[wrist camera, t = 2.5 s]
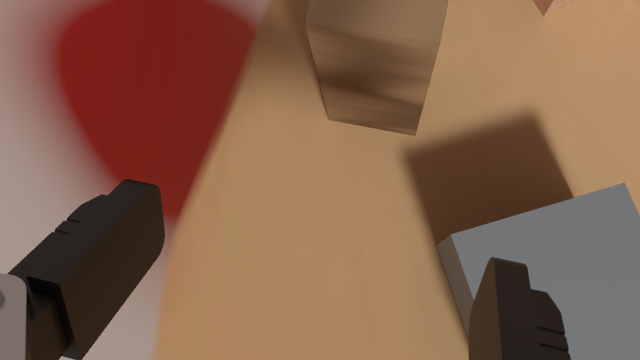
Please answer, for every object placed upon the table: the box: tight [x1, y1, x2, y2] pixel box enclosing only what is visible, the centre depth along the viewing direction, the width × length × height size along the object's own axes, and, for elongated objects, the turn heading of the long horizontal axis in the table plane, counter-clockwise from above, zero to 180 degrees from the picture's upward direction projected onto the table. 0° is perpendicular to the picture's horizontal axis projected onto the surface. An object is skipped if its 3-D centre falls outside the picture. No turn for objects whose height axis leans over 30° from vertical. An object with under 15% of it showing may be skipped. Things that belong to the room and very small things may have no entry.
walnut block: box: [304, 0, 448, 136], centre depth 22 cm, size 4×4×10 cm
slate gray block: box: [436, 183, 640, 360], centre depth 22 cm, size 7×7×5 cm
